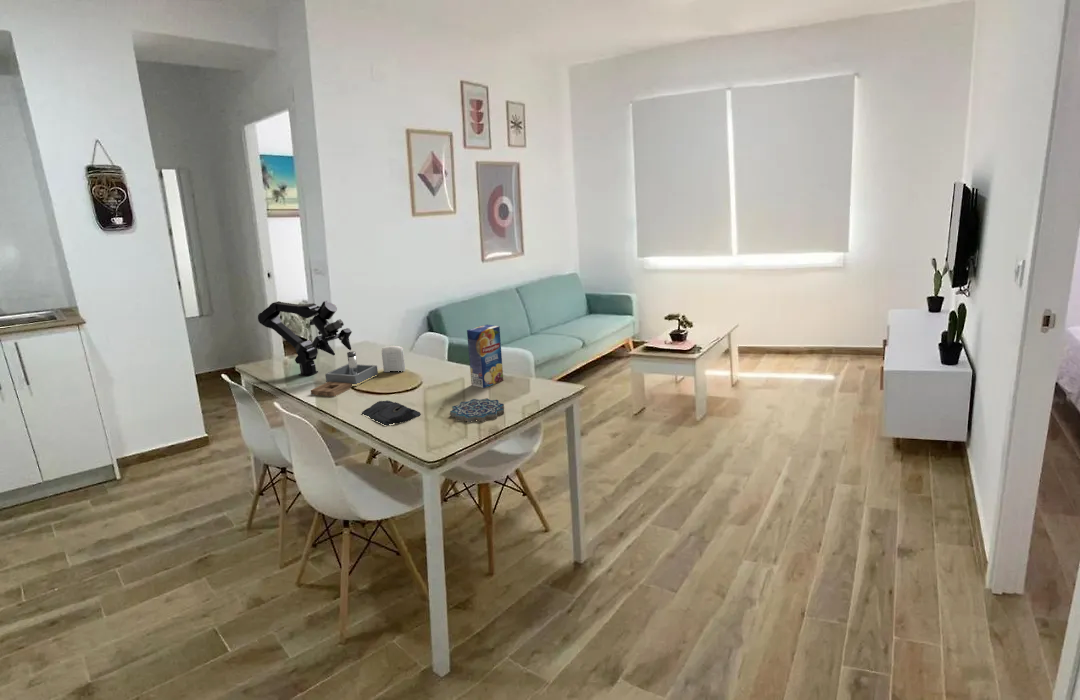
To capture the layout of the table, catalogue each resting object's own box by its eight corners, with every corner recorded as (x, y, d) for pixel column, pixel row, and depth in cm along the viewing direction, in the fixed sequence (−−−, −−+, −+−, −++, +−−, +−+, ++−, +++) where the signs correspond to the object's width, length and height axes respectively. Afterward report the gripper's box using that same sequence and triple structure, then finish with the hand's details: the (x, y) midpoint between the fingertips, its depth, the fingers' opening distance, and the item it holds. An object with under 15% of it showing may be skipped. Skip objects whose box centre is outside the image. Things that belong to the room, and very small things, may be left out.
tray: (326, 384, 273) (325, 373, 272) (349, 373, 287) (348, 363, 286) (356, 386, 267) (355, 376, 266) (378, 375, 282) (376, 365, 281)
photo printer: (406, 369, 289) (403, 344, 285) (404, 372, 285) (401, 346, 281) (385, 370, 290) (382, 344, 287) (382, 372, 286) (379, 347, 282)
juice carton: (483, 388, 256) (479, 332, 250) (471, 385, 261) (466, 330, 255) (503, 380, 265) (499, 326, 259) (491, 377, 270) (487, 324, 263)
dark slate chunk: (393, 404, 244) (392, 392, 243) (423, 416, 229) (422, 405, 228) (358, 415, 234) (356, 403, 233) (387, 429, 219) (385, 416, 218)
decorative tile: (485, 426, 216) (484, 420, 215) (440, 419, 225) (439, 412, 225) (514, 407, 233) (514, 402, 232) (471, 401, 242) (471, 395, 242)
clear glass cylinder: (349, 379, 275) (345, 353, 272) (351, 377, 279) (348, 351, 275) (357, 379, 275) (354, 353, 272) (359, 376, 279) (356, 351, 275)
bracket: (311, 394, 260) (310, 390, 259) (330, 385, 271) (329, 381, 270) (334, 396, 256) (333, 392, 255) (352, 387, 266) (351, 383, 266)
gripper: (312, 319, 268) (332, 346, 265) (346, 311, 283) (365, 336, 280) (303, 335, 274) (323, 361, 271) (337, 326, 289) (356, 351, 286)
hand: (342, 352), depth 277 cm, fingers open, 9 cm apart
